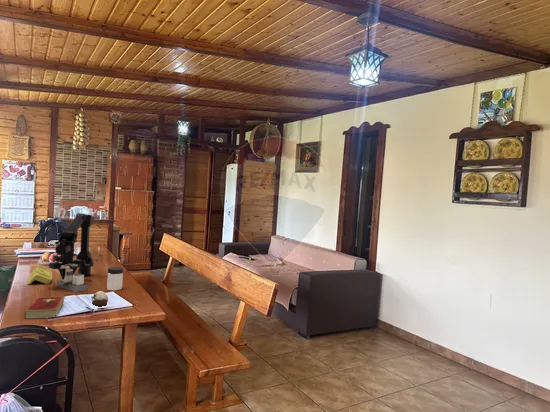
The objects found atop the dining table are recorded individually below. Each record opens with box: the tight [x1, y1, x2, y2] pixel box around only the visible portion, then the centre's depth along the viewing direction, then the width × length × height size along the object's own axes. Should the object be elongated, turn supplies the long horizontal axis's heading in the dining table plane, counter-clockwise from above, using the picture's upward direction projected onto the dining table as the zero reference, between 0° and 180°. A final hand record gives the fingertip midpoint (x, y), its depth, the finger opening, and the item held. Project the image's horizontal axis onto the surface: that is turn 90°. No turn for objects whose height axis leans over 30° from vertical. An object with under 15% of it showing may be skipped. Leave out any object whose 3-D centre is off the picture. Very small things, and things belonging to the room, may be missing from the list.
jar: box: [106, 266, 124, 291], centre depth 226 cm, size 9×8×12 cm
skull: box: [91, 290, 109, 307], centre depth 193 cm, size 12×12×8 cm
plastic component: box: [27, 265, 53, 285], centre depth 230 cm, size 20×7×10 cm
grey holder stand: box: [56, 273, 88, 293], centre depth 220 cm, size 7×18×8 cm, turn 59°
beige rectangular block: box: [60, 267, 74, 282], centre depth 223 cm, size 4×5×7 cm
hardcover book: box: [24, 296, 66, 319], centre depth 181 cm, size 12×21×4 cm, turn 18°
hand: (66, 278), depth 223 cm, fingers closed on beige rectangular block, 4 cm apart
